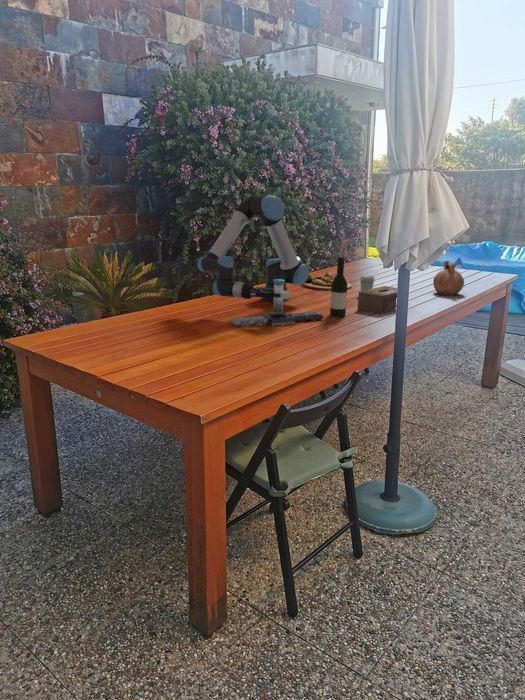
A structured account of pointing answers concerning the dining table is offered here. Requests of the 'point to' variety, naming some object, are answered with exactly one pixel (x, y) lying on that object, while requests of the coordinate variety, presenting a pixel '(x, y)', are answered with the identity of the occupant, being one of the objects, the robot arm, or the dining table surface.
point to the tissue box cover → (378, 299)
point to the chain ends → (276, 319)
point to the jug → (448, 280)
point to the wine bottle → (339, 291)
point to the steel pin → (278, 301)
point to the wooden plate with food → (321, 282)
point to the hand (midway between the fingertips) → (289, 295)
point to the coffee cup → (366, 282)
